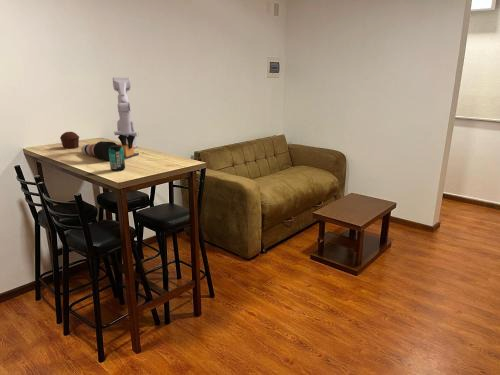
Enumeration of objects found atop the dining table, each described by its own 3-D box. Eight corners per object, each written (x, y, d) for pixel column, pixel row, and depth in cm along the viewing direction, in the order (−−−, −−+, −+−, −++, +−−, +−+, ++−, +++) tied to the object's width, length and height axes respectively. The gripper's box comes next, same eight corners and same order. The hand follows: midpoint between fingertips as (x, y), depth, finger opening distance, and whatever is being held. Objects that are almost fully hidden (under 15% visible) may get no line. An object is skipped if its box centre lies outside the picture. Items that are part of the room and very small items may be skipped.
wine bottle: (88, 159, 241) (92, 143, 242) (116, 162, 218) (121, 145, 219) (72, 154, 233) (77, 138, 235) (99, 156, 211) (105, 138, 212)
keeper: (122, 153, 235) (122, 146, 234) (138, 154, 232) (138, 147, 231) (107, 158, 222) (107, 151, 221) (124, 159, 219) (123, 152, 218)
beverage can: (126, 167, 202) (124, 144, 198) (123, 171, 195) (120, 147, 191) (113, 168, 201) (110, 144, 198) (108, 171, 195) (106, 147, 191)
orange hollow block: (123, 153, 231) (122, 143, 229) (134, 154, 229) (133, 143, 227) (115, 155, 224) (113, 145, 223) (126, 156, 222) (125, 146, 220)
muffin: (60, 147, 254) (58, 131, 251) (78, 145, 260) (76, 130, 257) (63, 150, 244) (60, 134, 241) (82, 148, 250) (80, 132, 247)
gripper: (110, 124, 219) (112, 148, 223) (132, 125, 215) (134, 150, 219) (117, 123, 226) (120, 146, 230) (139, 124, 222) (141, 148, 225)
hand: (127, 148), depth 225 cm, fingers open, 3 cm apart
